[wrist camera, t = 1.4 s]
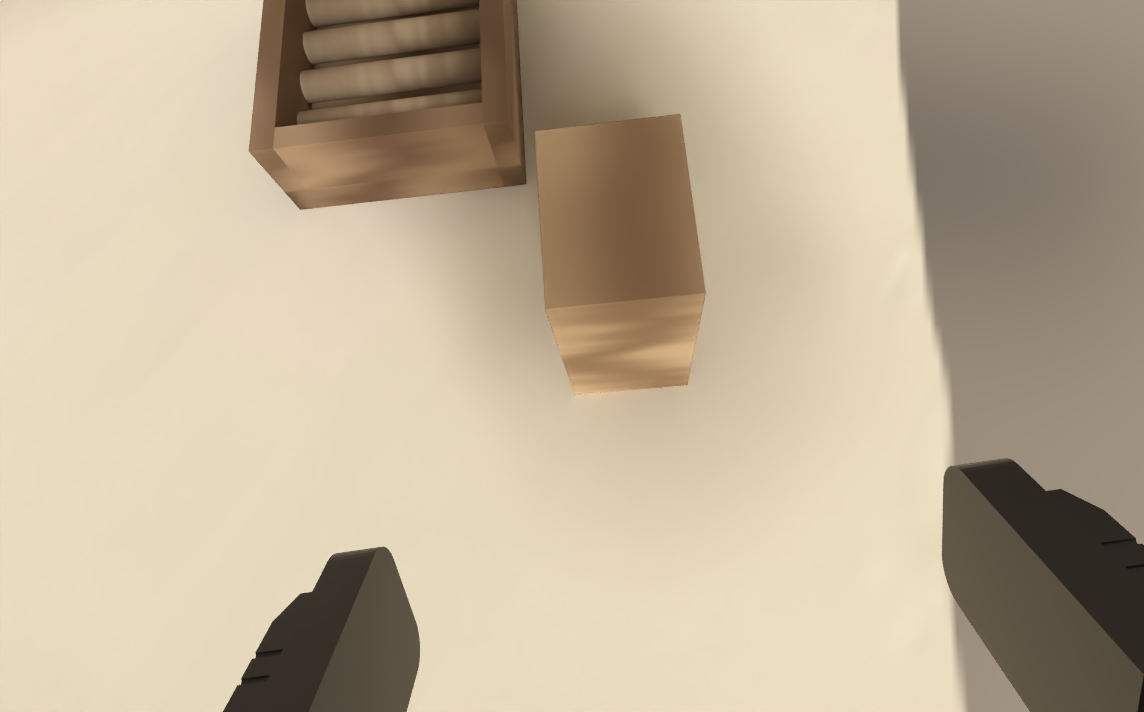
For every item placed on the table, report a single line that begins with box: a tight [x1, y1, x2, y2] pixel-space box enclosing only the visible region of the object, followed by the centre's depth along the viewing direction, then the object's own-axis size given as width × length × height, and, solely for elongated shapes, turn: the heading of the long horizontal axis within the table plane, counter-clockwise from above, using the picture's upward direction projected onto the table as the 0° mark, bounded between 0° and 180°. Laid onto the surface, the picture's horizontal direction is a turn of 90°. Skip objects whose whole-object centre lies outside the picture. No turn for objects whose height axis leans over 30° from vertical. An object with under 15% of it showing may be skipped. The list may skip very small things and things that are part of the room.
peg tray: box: [249, 0, 526, 210], centre depth 32 cm, size 10×12×4 cm
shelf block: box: [535, 114, 706, 395], centre depth 25 cm, size 4×6×9 cm
